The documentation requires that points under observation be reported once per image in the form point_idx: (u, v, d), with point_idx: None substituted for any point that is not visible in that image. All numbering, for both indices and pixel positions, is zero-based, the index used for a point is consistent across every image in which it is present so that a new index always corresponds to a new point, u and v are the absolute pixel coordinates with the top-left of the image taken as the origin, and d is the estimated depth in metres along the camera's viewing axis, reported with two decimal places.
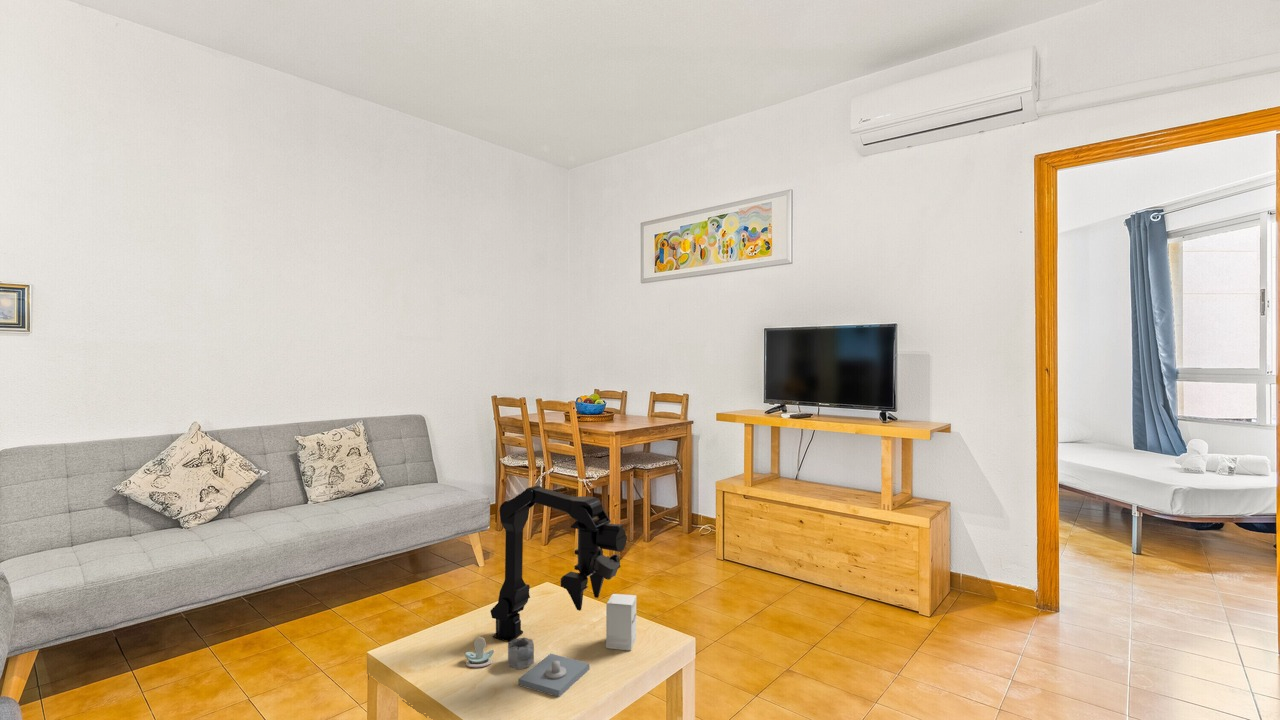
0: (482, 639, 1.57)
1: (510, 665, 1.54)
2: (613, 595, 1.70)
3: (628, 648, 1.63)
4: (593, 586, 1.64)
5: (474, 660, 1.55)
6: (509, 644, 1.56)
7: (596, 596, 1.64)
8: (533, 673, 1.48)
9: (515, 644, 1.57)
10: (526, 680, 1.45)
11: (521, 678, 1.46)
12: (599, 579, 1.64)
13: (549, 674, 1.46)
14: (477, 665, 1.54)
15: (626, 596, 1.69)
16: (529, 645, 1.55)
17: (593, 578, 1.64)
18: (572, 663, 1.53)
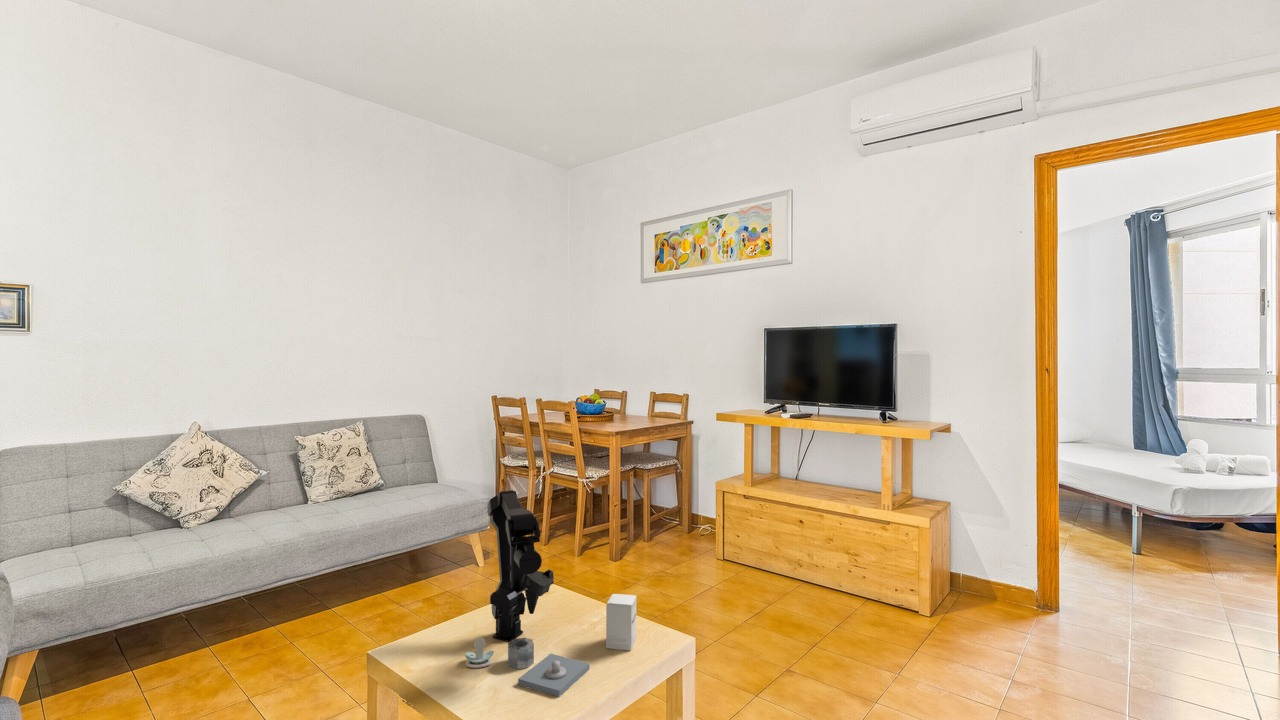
0: (482, 640, 1.57)
1: (510, 665, 1.54)
2: (613, 595, 1.70)
3: (628, 648, 1.63)
4: (528, 602, 1.61)
5: (474, 660, 1.55)
6: (509, 644, 1.56)
7: (531, 612, 1.60)
8: (533, 673, 1.48)
9: (515, 644, 1.57)
10: (526, 680, 1.45)
11: (521, 678, 1.46)
12: (534, 595, 1.60)
13: (549, 674, 1.46)
14: (477, 665, 1.54)
15: (626, 596, 1.69)
16: (529, 645, 1.55)
17: (528, 594, 1.61)
18: (572, 663, 1.53)
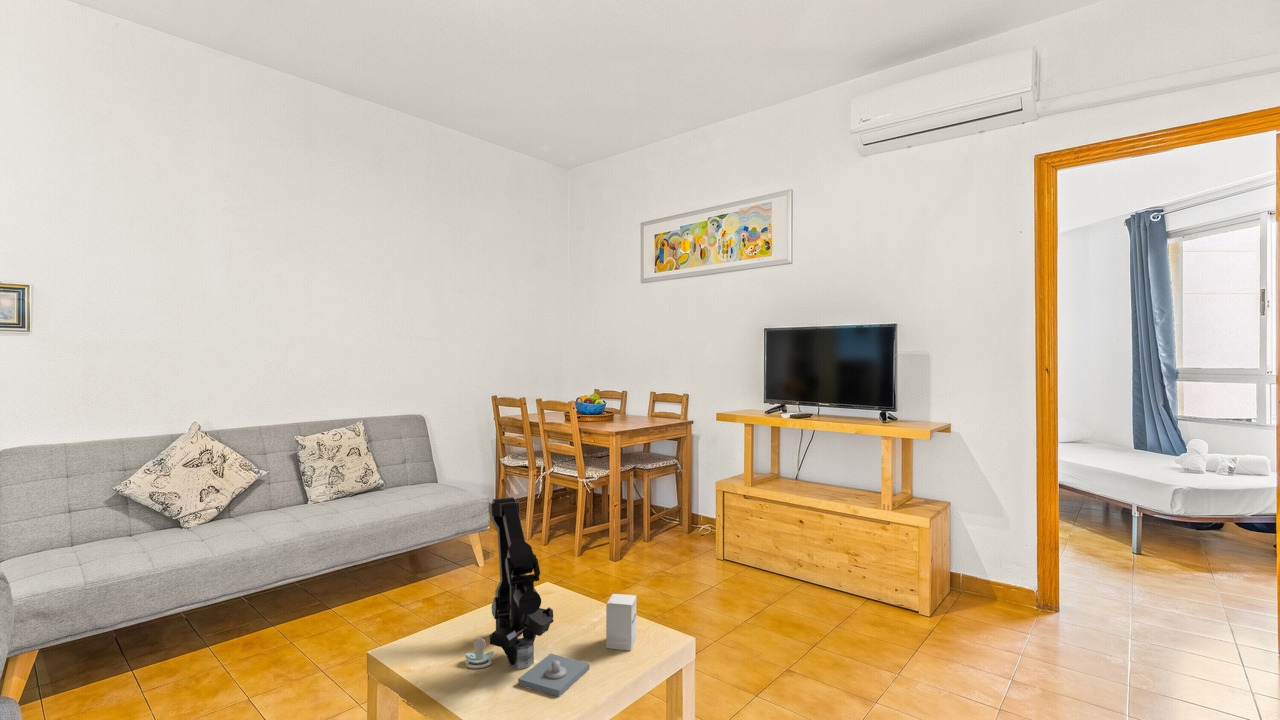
0: (482, 640, 1.57)
1: (510, 665, 1.54)
2: (613, 595, 1.70)
3: (628, 648, 1.63)
4: None
5: (474, 661, 1.55)
6: None
7: None
8: (533, 673, 1.48)
9: None
10: (526, 680, 1.45)
11: (521, 678, 1.46)
12: (531, 634, 1.59)
13: (549, 674, 1.46)
14: (477, 666, 1.53)
15: (626, 596, 1.69)
16: (529, 645, 1.55)
17: (525, 633, 1.60)
18: (572, 663, 1.53)
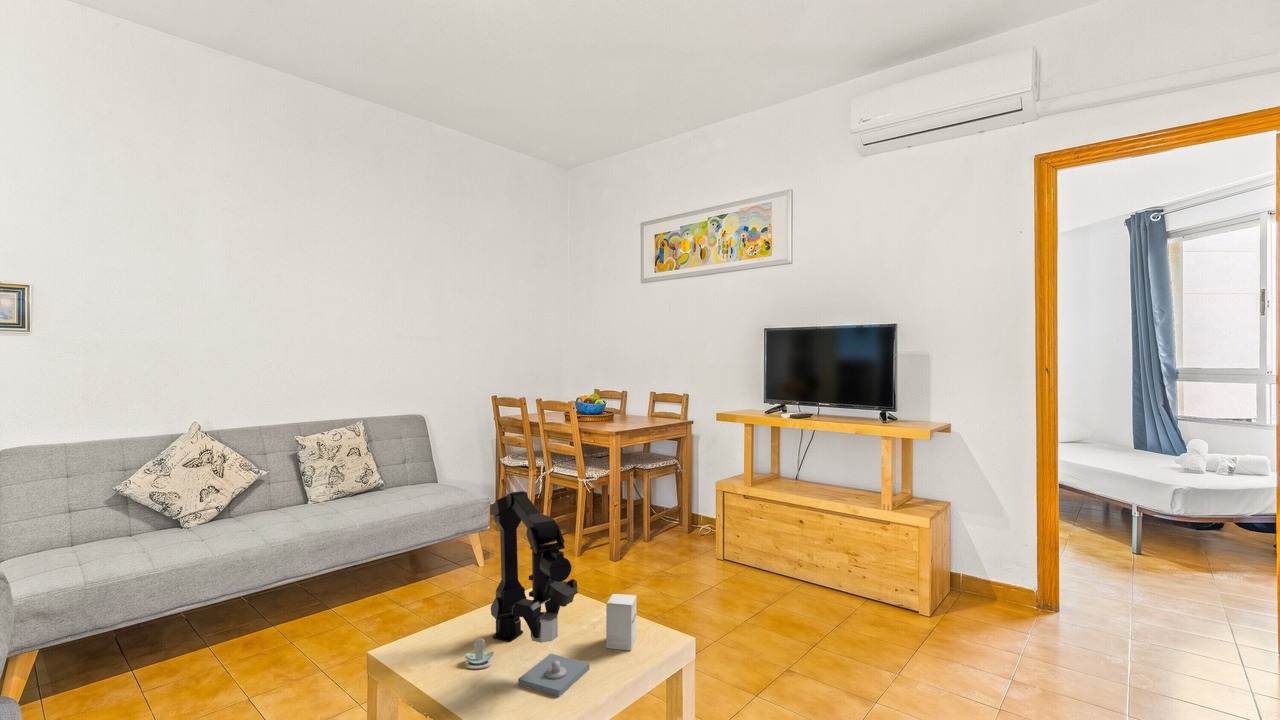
0: (482, 641, 1.57)
1: (533, 638, 1.48)
2: (613, 595, 1.70)
3: (628, 648, 1.63)
4: None
5: (474, 661, 1.55)
6: None
7: None
8: (533, 673, 1.48)
9: None
10: (526, 680, 1.45)
11: (521, 678, 1.46)
12: (554, 607, 1.53)
13: (549, 674, 1.46)
14: (477, 666, 1.53)
15: (626, 596, 1.69)
16: (553, 618, 1.49)
17: (548, 607, 1.54)
18: (572, 663, 1.53)
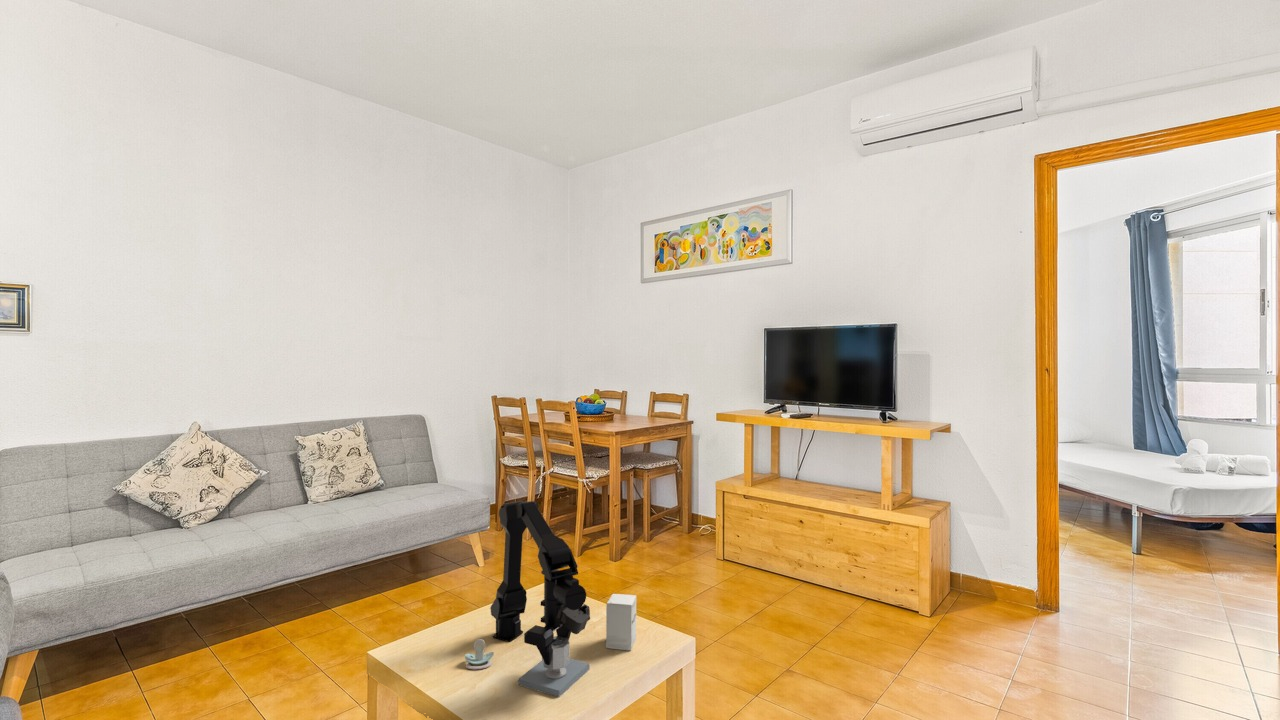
0: (481, 641, 1.56)
1: (545, 665, 1.46)
2: (613, 595, 1.70)
3: (628, 648, 1.63)
4: None
5: (474, 662, 1.54)
6: None
7: None
8: (533, 673, 1.48)
9: None
10: (526, 680, 1.45)
11: (521, 678, 1.46)
12: (566, 632, 1.51)
13: (549, 674, 1.46)
14: (477, 667, 1.53)
15: (626, 596, 1.69)
16: (565, 644, 1.47)
17: (559, 631, 1.52)
18: (572, 663, 1.53)
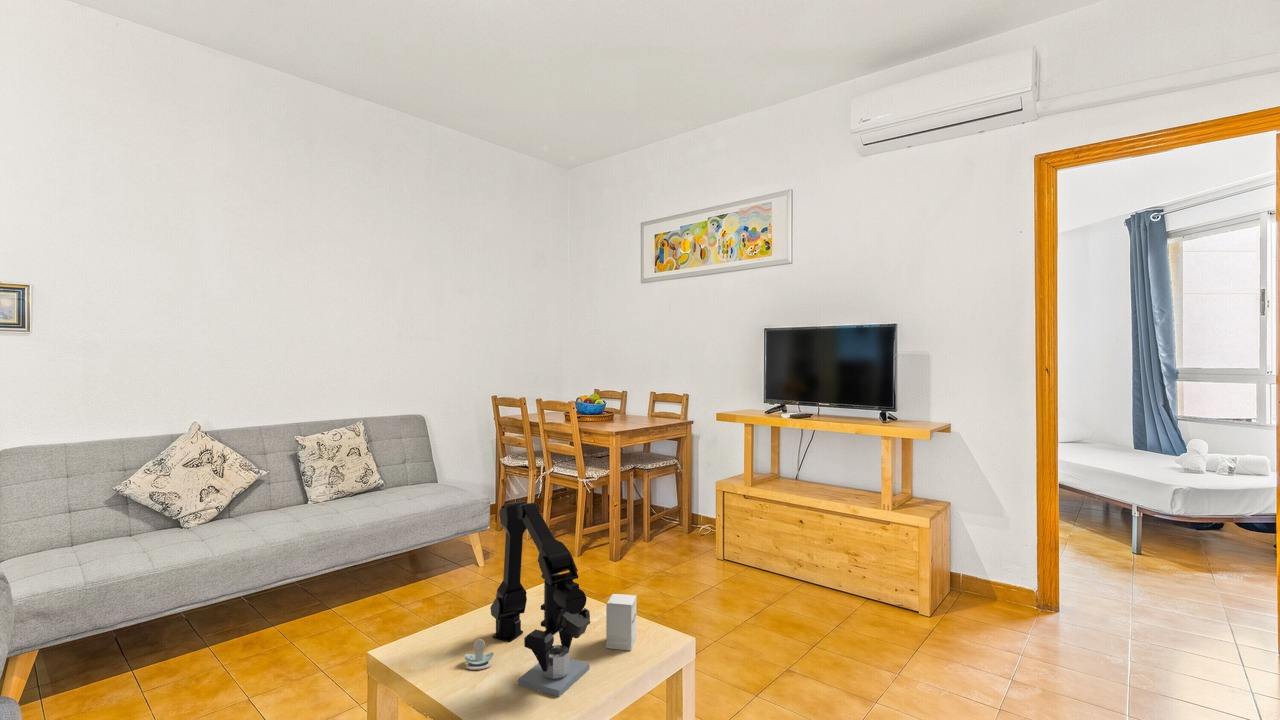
0: (481, 642, 1.56)
1: (545, 674, 1.45)
2: (613, 595, 1.70)
3: (628, 648, 1.63)
4: (562, 642, 1.53)
5: (474, 662, 1.54)
6: None
7: None
8: (533, 673, 1.48)
9: (549, 652, 1.49)
10: (526, 680, 1.45)
11: (521, 678, 1.46)
12: (568, 634, 1.52)
13: None
14: (477, 667, 1.53)
15: (626, 596, 1.69)
16: (565, 653, 1.47)
17: (562, 633, 1.53)
18: (572, 663, 1.53)
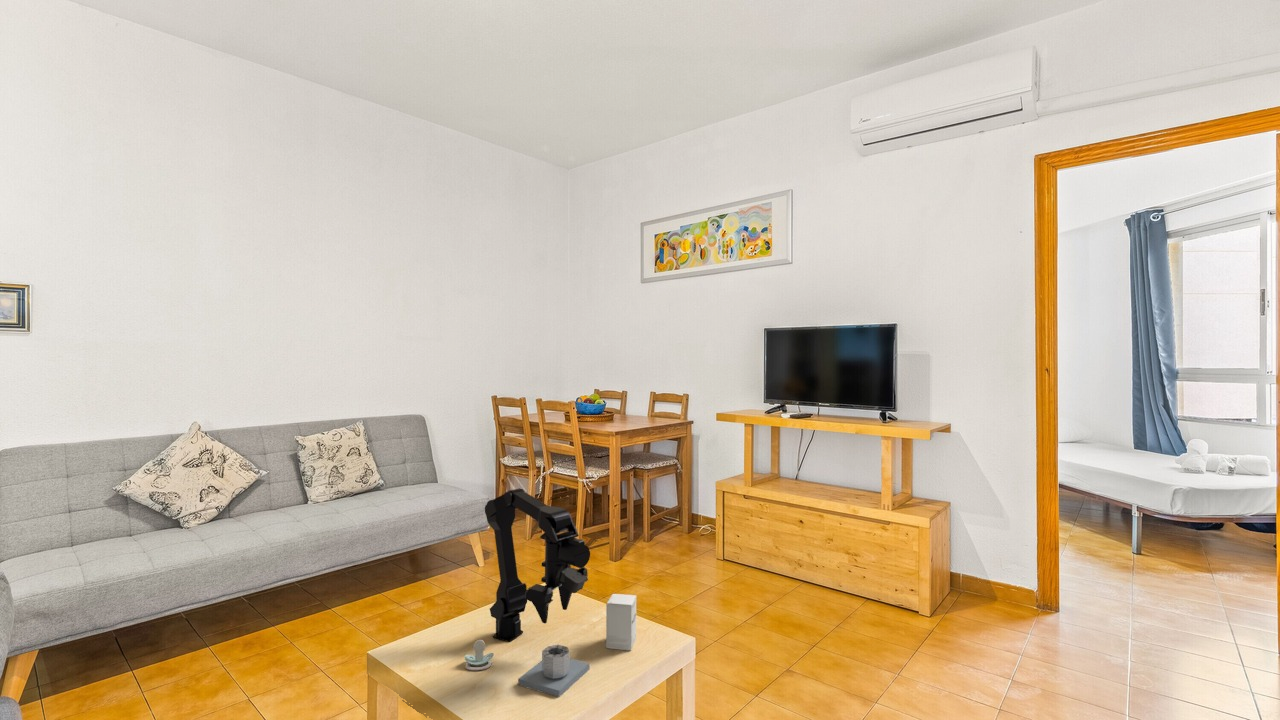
0: (481, 642, 1.56)
1: (545, 674, 1.45)
2: (613, 595, 1.70)
3: (628, 648, 1.63)
4: (561, 598, 1.63)
5: (473, 663, 1.54)
6: (543, 652, 1.48)
7: (564, 608, 1.62)
8: (533, 673, 1.48)
9: (549, 652, 1.49)
10: (526, 680, 1.45)
11: (521, 678, 1.46)
12: (567, 591, 1.62)
13: None
14: (476, 668, 1.52)
15: (626, 596, 1.69)
16: (565, 653, 1.47)
17: (561, 590, 1.63)
18: (572, 663, 1.53)
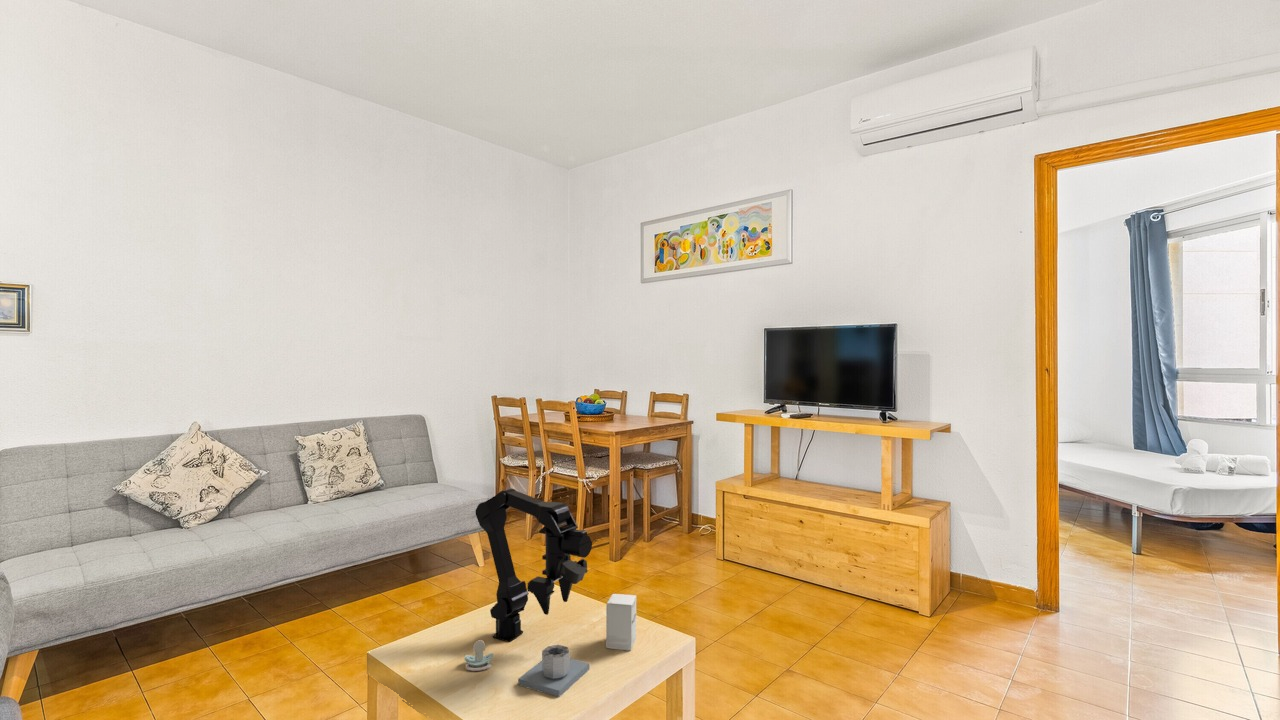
0: (481, 643, 1.56)
1: (545, 674, 1.45)
2: (613, 595, 1.70)
3: (628, 648, 1.63)
4: (562, 590, 1.67)
5: (473, 663, 1.54)
6: (543, 652, 1.48)
7: (565, 600, 1.66)
8: (533, 673, 1.48)
9: (549, 652, 1.49)
10: (526, 680, 1.45)
11: (521, 678, 1.46)
12: (568, 583, 1.66)
13: None
14: (476, 668, 1.52)
15: (626, 596, 1.69)
16: (565, 653, 1.47)
17: (561, 583, 1.67)
18: (572, 663, 1.53)
